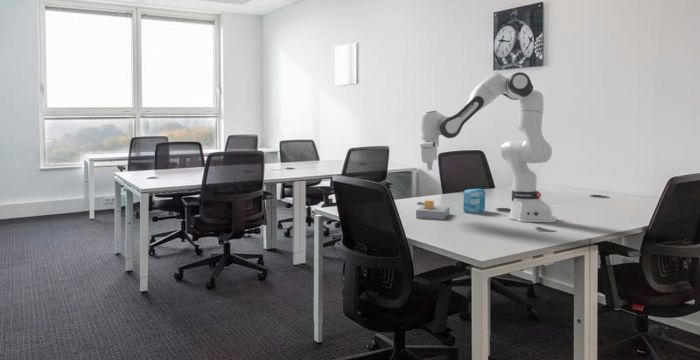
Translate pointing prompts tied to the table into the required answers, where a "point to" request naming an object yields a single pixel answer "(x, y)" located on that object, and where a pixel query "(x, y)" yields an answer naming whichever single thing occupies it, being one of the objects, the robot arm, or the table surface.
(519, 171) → the robot arm
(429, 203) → the plug
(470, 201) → the data package
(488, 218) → the table surface
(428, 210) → the socket box
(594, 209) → the table surface
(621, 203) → the table surface
